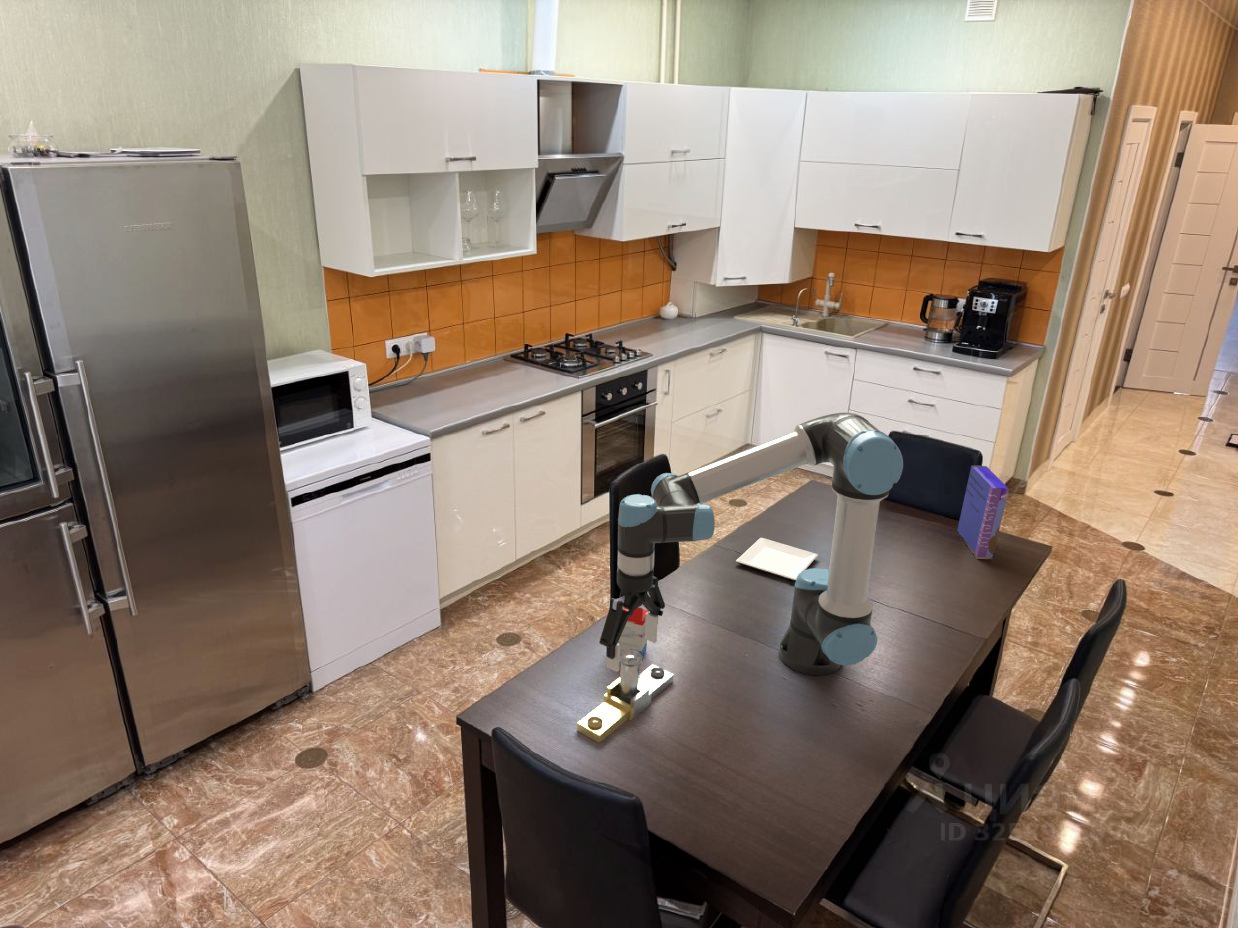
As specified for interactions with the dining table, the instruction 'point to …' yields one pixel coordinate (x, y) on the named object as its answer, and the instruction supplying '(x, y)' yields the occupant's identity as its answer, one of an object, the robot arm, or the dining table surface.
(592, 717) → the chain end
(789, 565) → the plate
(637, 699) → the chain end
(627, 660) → the pin
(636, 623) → the ink box
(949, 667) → the dining table surface
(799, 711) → the dining table surface
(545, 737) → the dining table surface
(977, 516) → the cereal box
